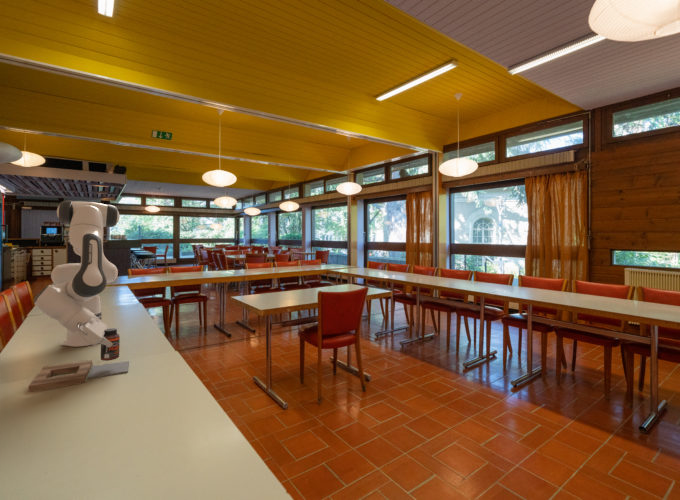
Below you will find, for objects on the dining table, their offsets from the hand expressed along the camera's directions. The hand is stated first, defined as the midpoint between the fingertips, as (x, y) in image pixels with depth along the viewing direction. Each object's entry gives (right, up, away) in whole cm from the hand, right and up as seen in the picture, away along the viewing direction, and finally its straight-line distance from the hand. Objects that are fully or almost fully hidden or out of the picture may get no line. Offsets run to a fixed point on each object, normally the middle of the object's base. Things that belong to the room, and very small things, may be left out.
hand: (112, 342), depth 127 cm
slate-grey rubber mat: (-1, -11, 0) cm, 11 cm away
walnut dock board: (-13, -11, -7) cm, 18 cm away
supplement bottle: (-1, -6, 0) cm, 6 cm away
